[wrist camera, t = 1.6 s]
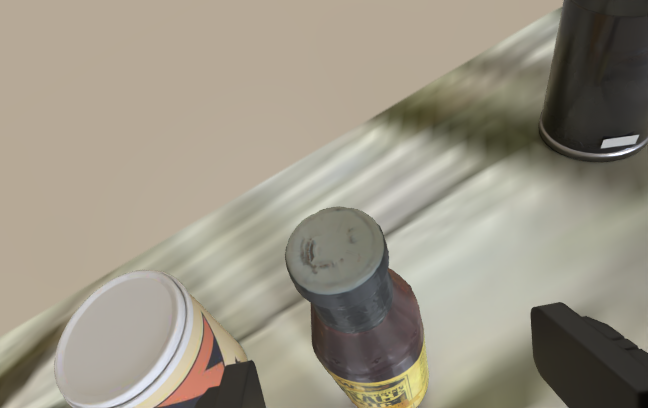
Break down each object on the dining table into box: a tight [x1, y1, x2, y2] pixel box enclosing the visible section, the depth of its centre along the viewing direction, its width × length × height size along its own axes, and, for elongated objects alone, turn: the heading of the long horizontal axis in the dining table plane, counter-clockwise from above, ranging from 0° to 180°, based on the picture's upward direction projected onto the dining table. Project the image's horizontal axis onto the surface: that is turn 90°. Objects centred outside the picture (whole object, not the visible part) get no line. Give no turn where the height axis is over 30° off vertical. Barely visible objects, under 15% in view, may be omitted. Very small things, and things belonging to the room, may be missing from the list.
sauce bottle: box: [285, 207, 429, 408], centre depth 23 cm, size 6×6×20 cm
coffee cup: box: [54, 270, 248, 408], centre depth 30 cm, size 9×9×12 cm
